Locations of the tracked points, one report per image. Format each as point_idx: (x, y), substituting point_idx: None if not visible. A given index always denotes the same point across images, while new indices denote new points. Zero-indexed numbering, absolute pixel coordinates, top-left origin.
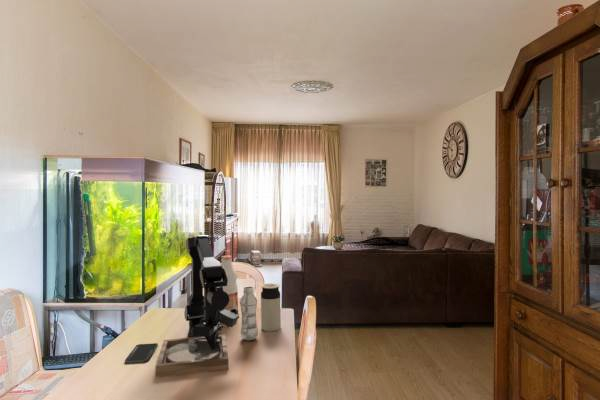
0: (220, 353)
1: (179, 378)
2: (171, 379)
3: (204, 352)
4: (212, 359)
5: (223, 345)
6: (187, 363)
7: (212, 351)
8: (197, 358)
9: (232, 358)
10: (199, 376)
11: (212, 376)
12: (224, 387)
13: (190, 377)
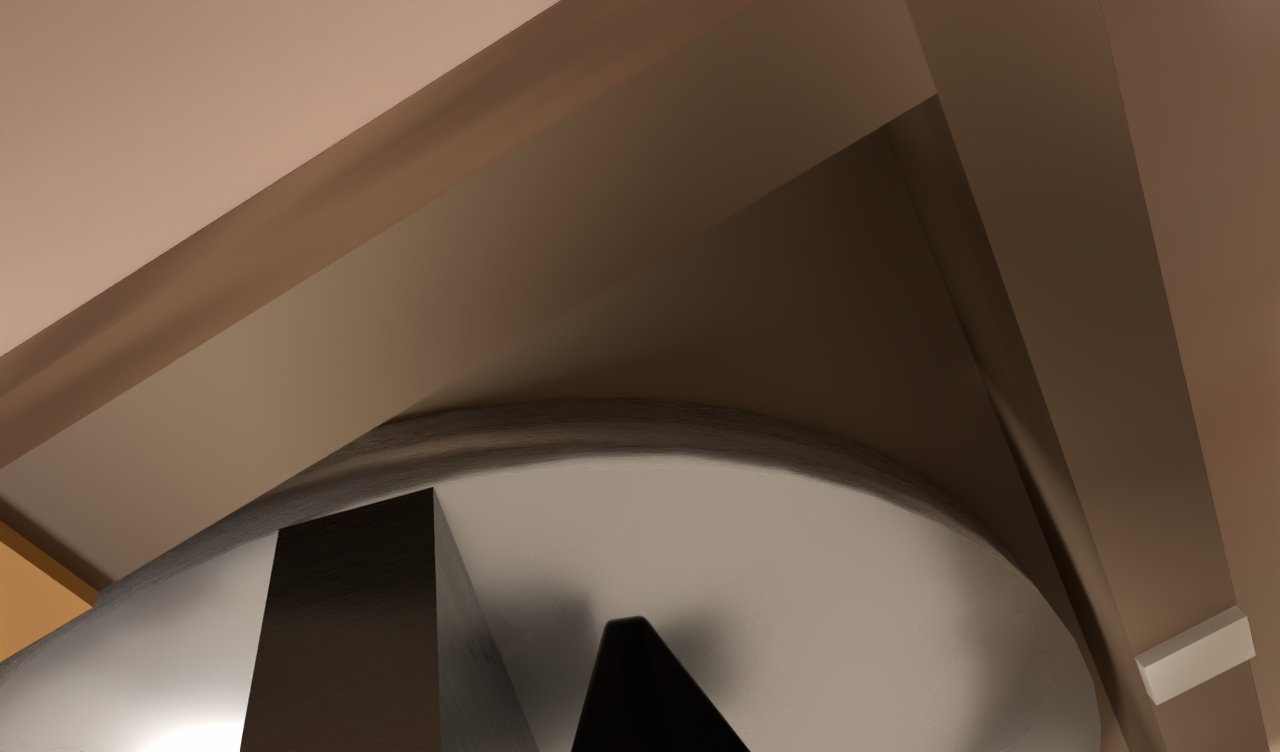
0: None
1: (1249, 539)
2: (1266, 607)
3: None
4: (1118, 330)
5: (31, 605)
6: (1248, 673)
7: (496, 638)
8: (949, 674)
9: (126, 75)
10: (1215, 303)
11: (1244, 44)
12: None
13: (1236, 419)
